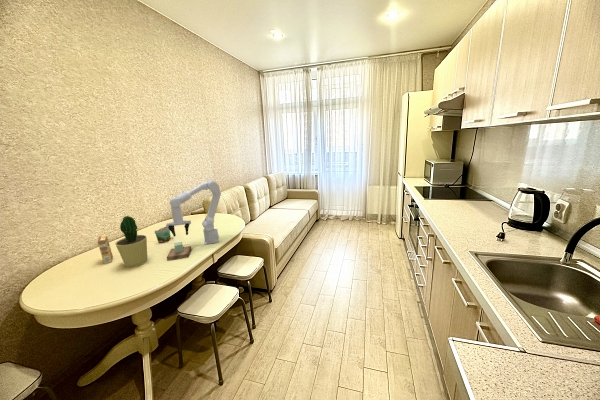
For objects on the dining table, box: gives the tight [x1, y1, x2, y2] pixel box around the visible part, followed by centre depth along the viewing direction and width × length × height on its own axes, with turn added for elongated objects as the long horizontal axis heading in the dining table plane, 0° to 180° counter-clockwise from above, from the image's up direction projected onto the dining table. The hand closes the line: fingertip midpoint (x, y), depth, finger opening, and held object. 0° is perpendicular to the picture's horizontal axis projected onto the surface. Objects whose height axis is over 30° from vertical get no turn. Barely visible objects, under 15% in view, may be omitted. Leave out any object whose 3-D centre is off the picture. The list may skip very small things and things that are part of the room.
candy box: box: [97, 234, 114, 265], centre depth 147 cm, size 9×4×15 cm, turn 35°
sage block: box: [173, 241, 184, 253], centre depth 151 cm, size 4×4×5 cm
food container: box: [154, 226, 171, 244], centre depth 175 cm, size 12×6×10 cm, turn 168°
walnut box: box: [166, 245, 192, 261], centre depth 152 cm, size 12×12×3 cm
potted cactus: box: [114, 215, 148, 268], centre depth 141 cm, size 15×15×30 cm
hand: (181, 235), depth 159 cm, fingers open, 7 cm apart
